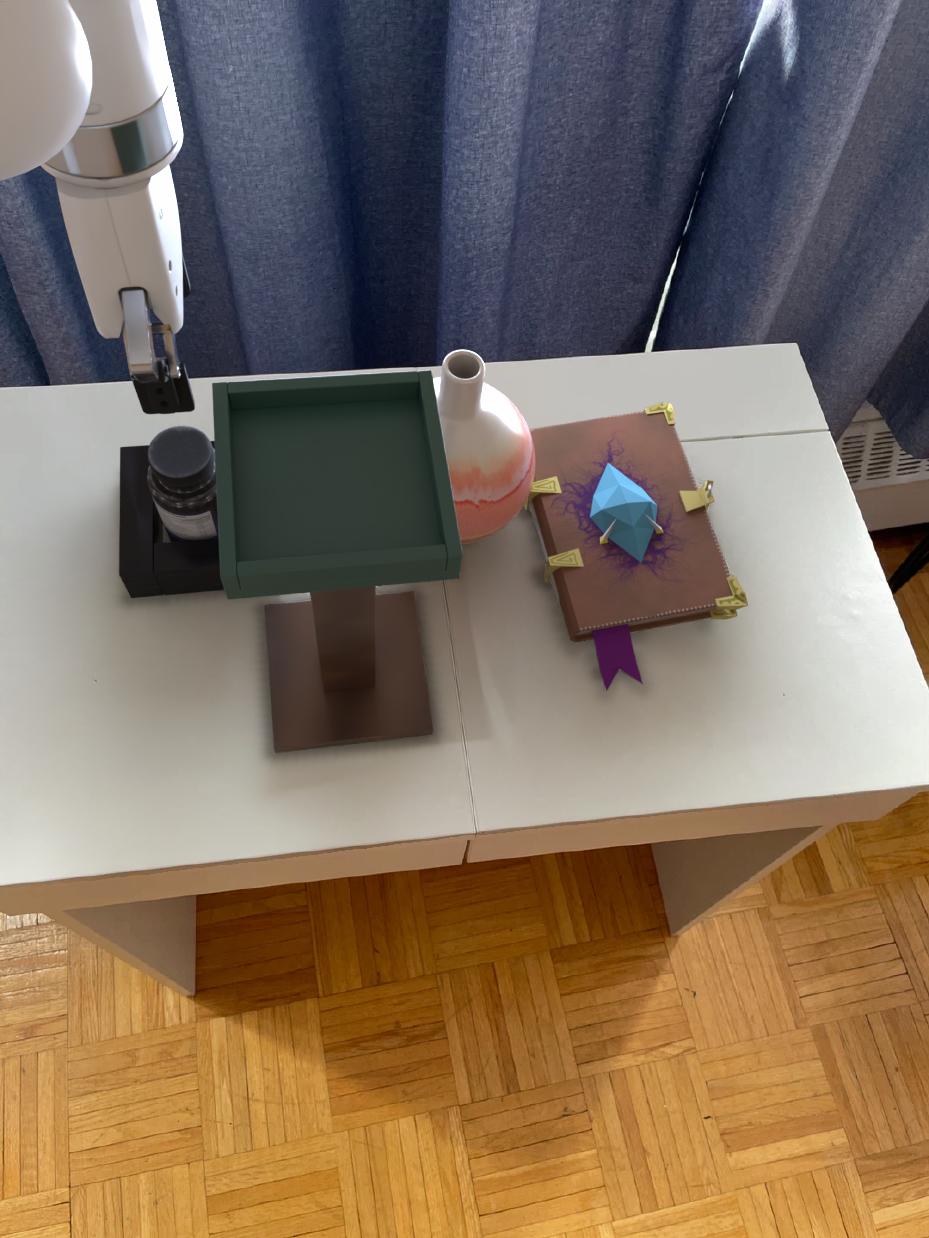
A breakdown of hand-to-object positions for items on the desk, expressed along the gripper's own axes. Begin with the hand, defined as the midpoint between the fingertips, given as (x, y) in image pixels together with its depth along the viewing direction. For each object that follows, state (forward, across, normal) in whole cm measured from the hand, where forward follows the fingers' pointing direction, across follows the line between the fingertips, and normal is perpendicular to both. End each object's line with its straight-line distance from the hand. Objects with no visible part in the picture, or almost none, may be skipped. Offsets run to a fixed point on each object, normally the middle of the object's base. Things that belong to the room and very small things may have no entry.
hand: (168, 350), depth 62 cm
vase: (+20, +1, +20) cm, 28 cm away
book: (+20, +8, +35) cm, 41 cm away
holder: (+20, +2, -1) cm, 20 cm away
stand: (+20, +16, +10) cm, 27 cm away
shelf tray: (-6, +16, +10) cm, 20 cm away
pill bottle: (+20, +2, -1) cm, 20 cm away
